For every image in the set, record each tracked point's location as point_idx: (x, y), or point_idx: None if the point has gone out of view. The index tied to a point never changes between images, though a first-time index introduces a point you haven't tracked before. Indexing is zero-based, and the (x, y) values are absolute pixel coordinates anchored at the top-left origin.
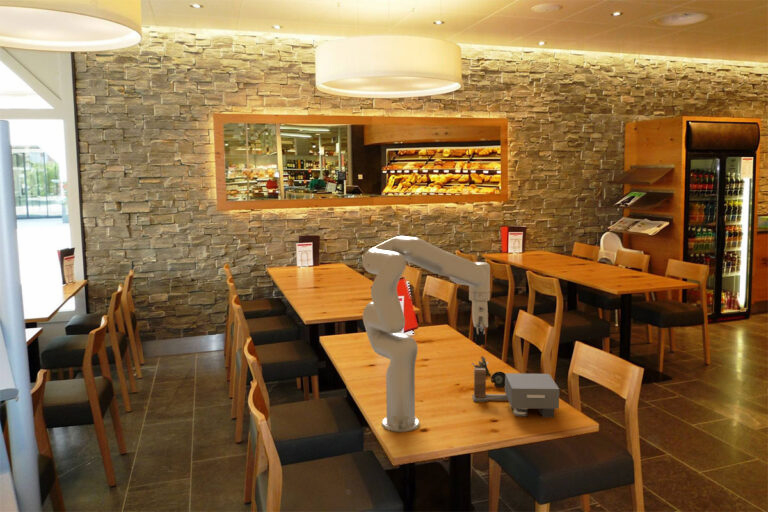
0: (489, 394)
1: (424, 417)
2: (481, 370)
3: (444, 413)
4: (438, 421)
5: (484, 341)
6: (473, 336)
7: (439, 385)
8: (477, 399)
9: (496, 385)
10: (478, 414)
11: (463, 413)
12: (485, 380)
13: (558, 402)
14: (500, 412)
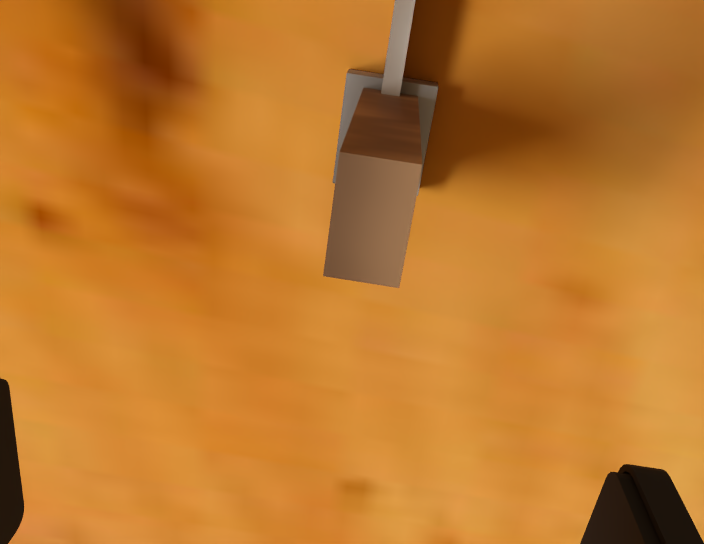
0: (390, 53)
1: None
2: (411, 213)
3: (588, 413)
4: (700, 466)
5: (687, 536)
6: (5, 536)
7: (79, 342)
8: (422, 163)
9: None
10: (672, 214)
11: (622, 307)
12: (419, 133)
13: None
14: (688, 32)
